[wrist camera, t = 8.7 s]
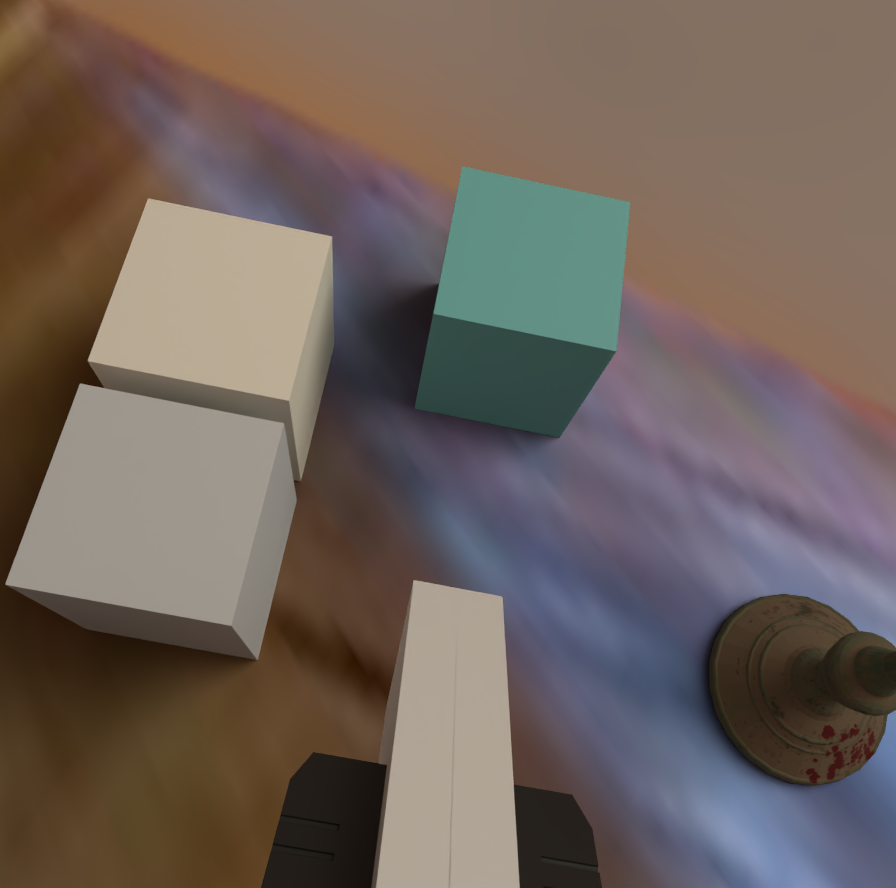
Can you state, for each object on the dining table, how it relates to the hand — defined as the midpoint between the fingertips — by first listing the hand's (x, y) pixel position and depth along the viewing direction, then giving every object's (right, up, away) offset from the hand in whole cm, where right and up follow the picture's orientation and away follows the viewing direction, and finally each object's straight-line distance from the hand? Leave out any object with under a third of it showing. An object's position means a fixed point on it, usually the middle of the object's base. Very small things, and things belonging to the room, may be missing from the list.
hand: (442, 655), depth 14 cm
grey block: (-12, -2, +26) cm, 29 cm away
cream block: (-11, +6, +29) cm, 32 cm away
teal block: (+3, +8, +32) cm, 33 cm away
